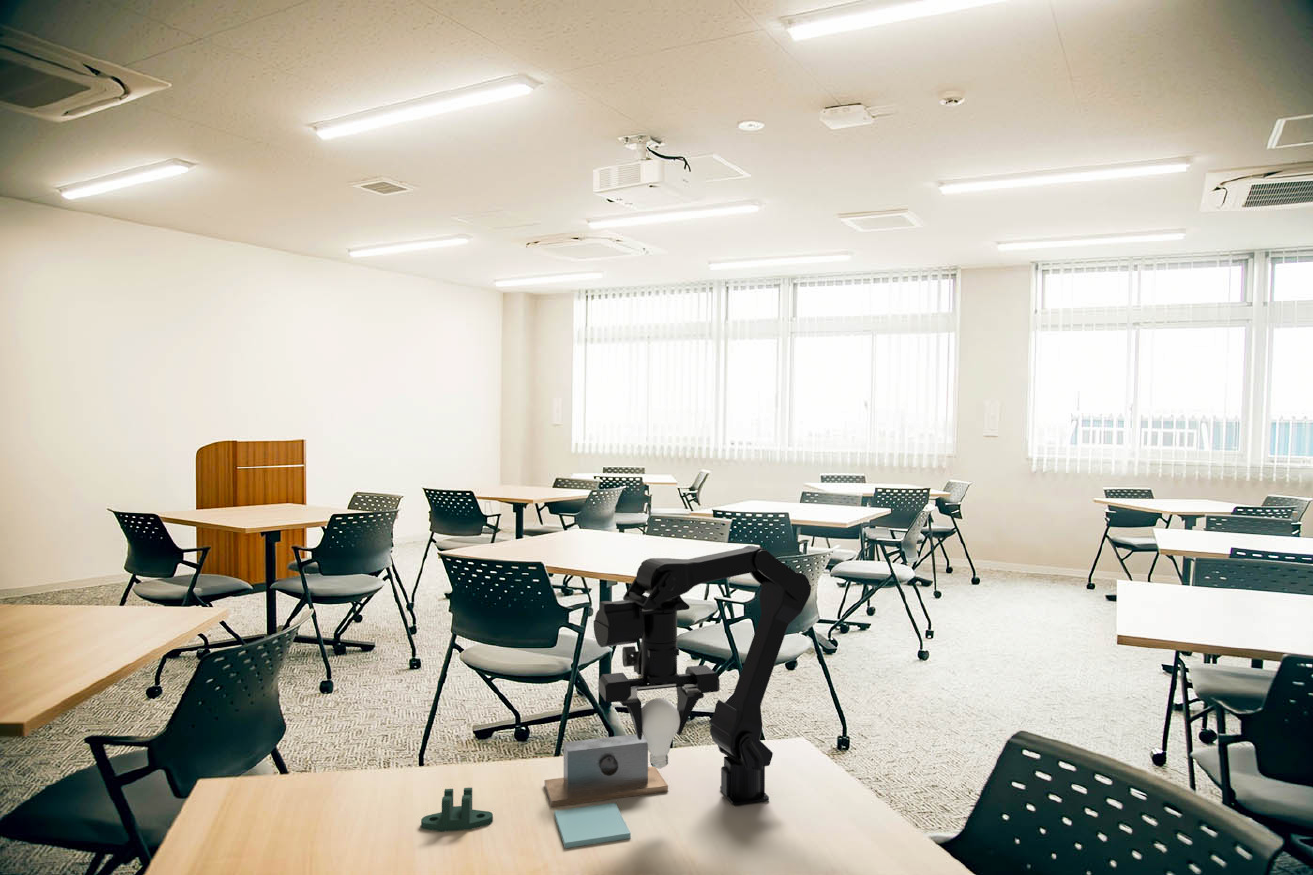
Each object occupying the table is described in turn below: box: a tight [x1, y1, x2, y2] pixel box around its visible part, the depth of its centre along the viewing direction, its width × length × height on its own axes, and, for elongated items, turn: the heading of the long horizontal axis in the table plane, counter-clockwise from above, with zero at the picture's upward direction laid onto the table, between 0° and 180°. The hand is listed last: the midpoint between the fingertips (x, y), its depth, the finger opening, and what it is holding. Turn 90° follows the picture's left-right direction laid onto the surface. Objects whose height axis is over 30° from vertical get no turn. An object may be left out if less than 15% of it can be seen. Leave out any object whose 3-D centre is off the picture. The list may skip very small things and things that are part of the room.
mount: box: [420, 786, 494, 833], centre depth 120 cm, size 11×4×5 cm, turn 98°
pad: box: [553, 802, 631, 849], centre depth 119 cm, size 10×10×1 cm
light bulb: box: [641, 697, 680, 770], centre depth 123 cm, size 7×7×11 cm
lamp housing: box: [544, 733, 669, 808], centre depth 132 cm, size 20×8×8 cm, turn 106°
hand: (659, 736), depth 123 cm, fingers closed on light bulb, 6 cm apart
